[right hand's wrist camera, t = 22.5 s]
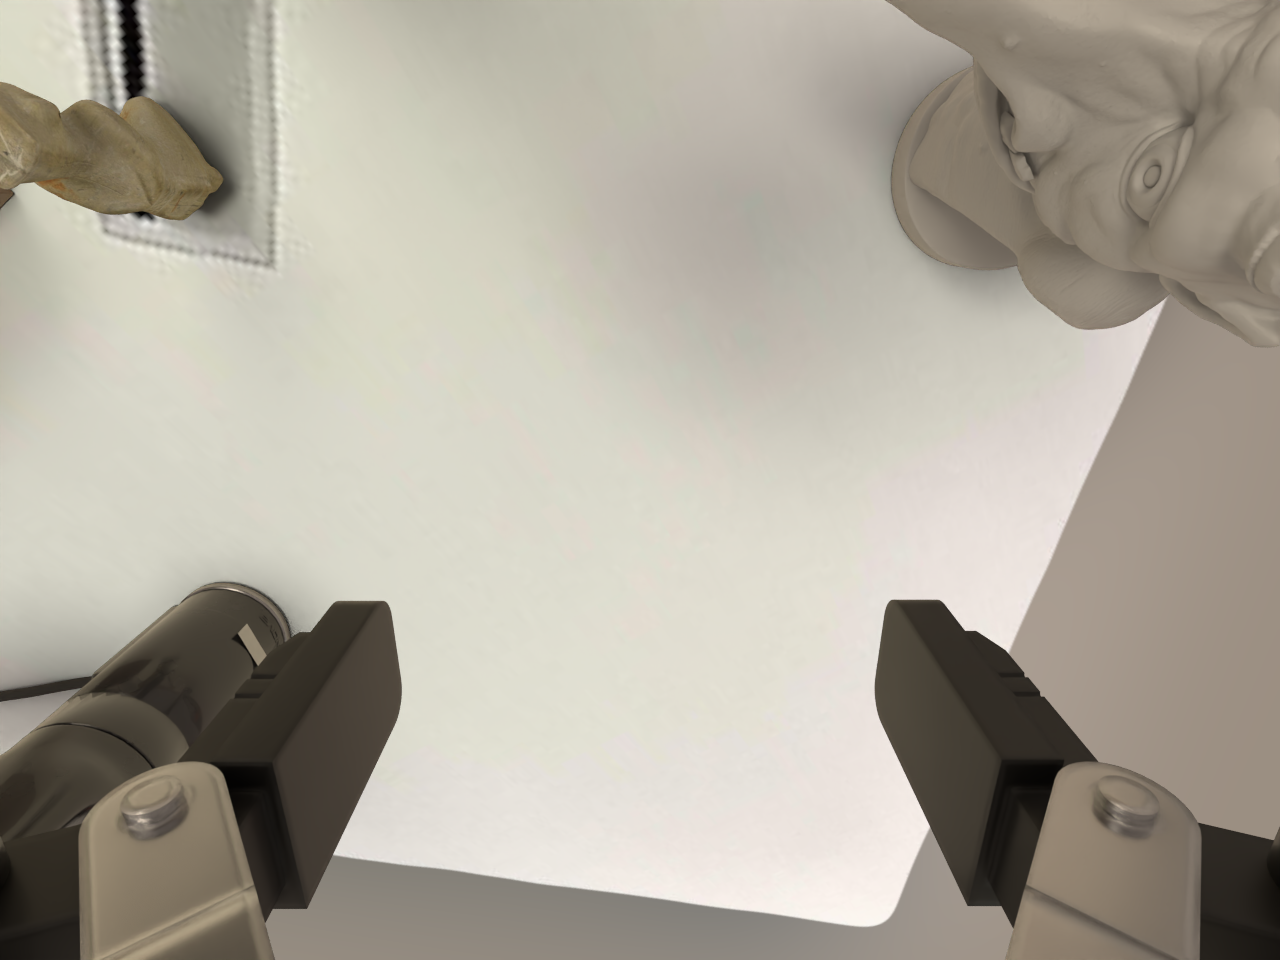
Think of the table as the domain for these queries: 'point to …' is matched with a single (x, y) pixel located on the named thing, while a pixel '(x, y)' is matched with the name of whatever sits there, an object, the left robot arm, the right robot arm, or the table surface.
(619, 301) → the table surface
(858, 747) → the table surface
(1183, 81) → the bust sculpture
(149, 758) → the left robot arm
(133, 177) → the sculpture
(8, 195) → the bar
